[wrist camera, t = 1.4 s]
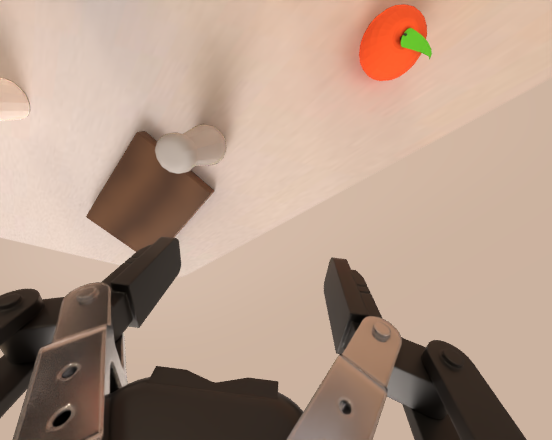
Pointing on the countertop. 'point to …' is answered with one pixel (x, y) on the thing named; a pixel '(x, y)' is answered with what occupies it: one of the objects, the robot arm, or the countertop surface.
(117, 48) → the countertop surface
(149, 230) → the cutting board
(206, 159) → the salt shaker
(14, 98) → the white short cylinder
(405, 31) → the clementine
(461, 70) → the countertop surface
